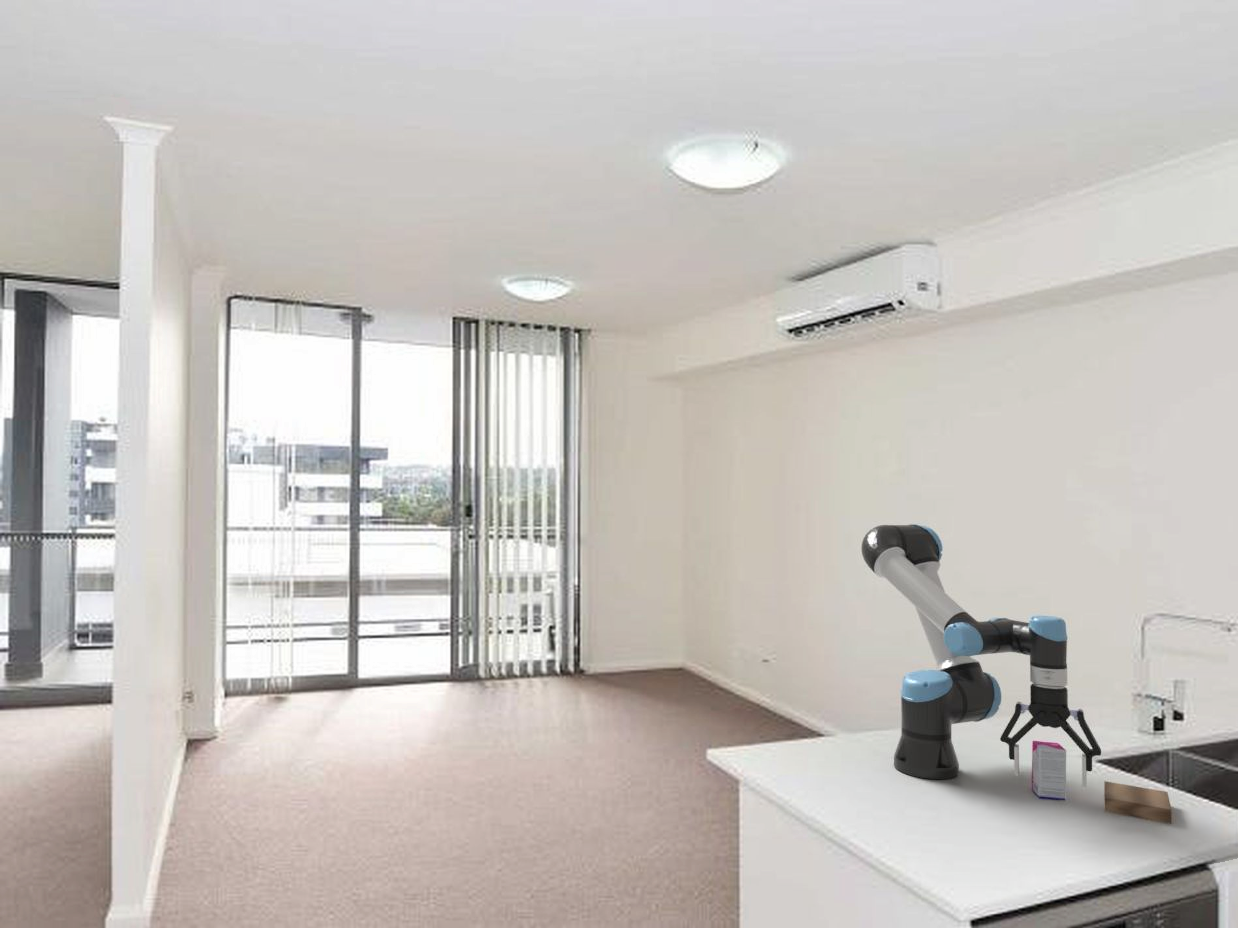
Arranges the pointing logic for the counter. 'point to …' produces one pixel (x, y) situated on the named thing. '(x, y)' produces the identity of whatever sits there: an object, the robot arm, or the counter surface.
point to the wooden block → (1137, 802)
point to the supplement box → (1048, 770)
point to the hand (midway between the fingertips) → (1050, 779)
